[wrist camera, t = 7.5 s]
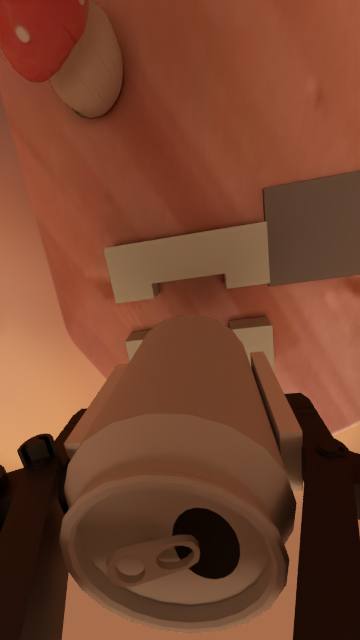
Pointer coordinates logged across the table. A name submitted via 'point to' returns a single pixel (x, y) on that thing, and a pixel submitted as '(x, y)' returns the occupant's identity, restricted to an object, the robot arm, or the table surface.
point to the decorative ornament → (64, 50)
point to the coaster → (313, 229)
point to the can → (181, 488)
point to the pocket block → (196, 273)
